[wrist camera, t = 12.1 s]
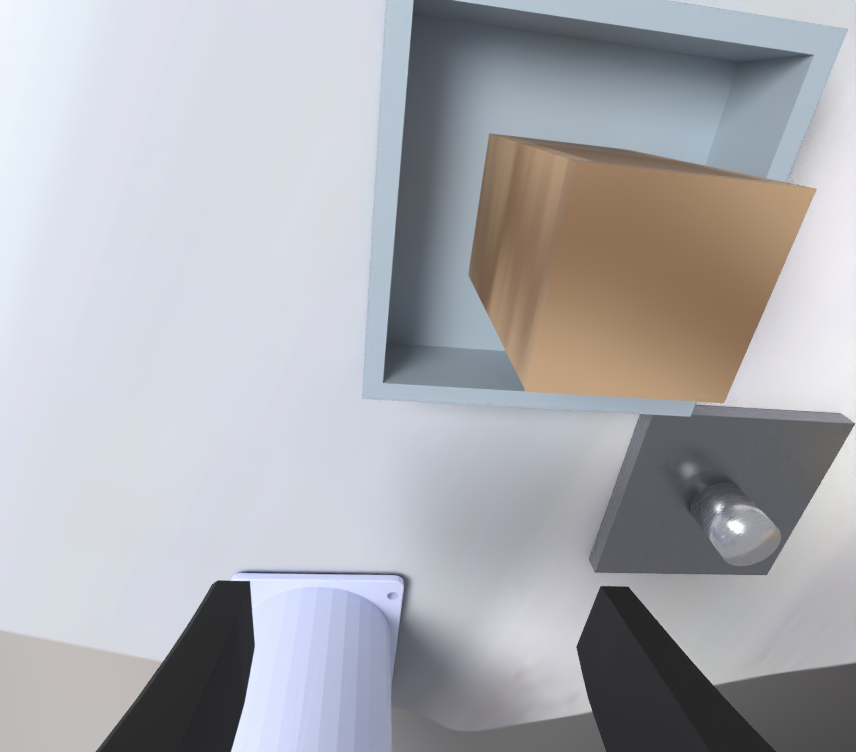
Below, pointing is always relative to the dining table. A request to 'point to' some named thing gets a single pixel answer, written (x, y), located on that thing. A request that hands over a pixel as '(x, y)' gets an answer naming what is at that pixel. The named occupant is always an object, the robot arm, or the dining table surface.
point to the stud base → (704, 459)
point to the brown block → (626, 266)
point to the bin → (557, 121)
